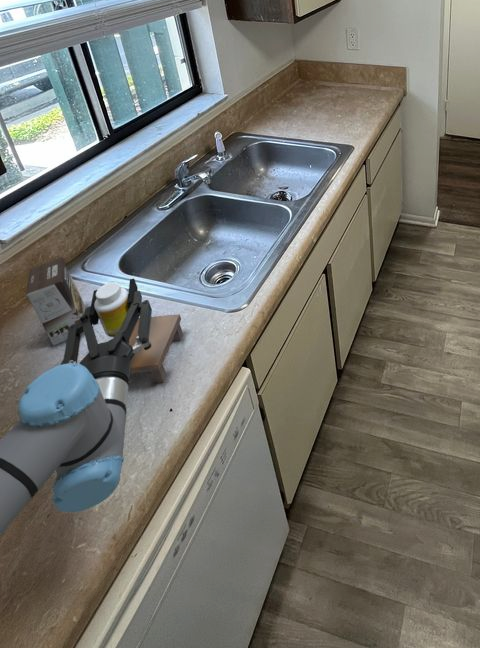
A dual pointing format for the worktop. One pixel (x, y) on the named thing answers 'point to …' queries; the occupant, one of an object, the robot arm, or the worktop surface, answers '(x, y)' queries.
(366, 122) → the worktop surface
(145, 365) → the stool
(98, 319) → the robot arm
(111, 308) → the supplement bottle
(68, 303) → the coffee box
